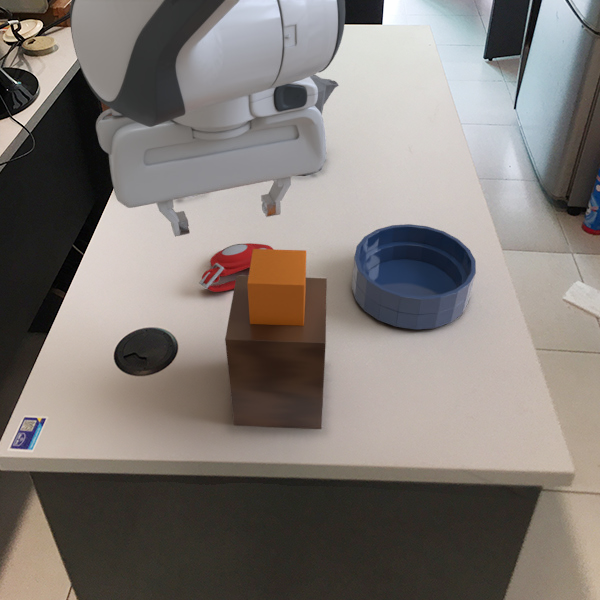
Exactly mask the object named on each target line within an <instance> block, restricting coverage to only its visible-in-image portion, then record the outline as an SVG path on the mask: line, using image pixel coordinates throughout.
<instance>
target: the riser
mask: <svg viewBox="0 0 600 600" xmlns="http://www.w3.org/2000/svg"><path fill="white" fill-rule="evenodd" d="M248 276H249V275H241V274H240V275H239V274H236V278H235V280H236V282H235V288H234V289H233V292H232V293H233V294H232V299H231V303H230V304H231V305H230V310H229V317H228V322H227V327H226V333H225V336H224V337H225V338H224V341H225V342H224V343H225V353H226V361H227V372H228V382H229V391H230V401H231V412H232V419H233V420H232V421H233V426H243V427H245V426H246V427H266V428H267V427H269V428H291V429H293V428H294V429H295V428H296V429H320V430H321V429H322V426H323V424H322V423H323V407H324V406H323V405H324V404H323V403H324V387H325V386H324V385H325V384H324V383H325V366H326V365H325V363H326V348H327V347H326V346H327V343H326V342H327V292H328V291H327V283H328V278H327V277H306V294H305V313H304V326H293V325H264V324H250V317H249V301H248V285H247V283H248Z"/></svg>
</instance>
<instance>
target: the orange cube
mask: <svg viewBox="0 0 600 600" xmlns="http://www.w3.org/2000/svg"><path fill="white" fill-rule="evenodd" d="M247 276H248V283H247V285H248V301H249V317H250V324H264V325H293V326H304V313H305V294H306V278H307V250H306V249H305V250H304V249H302V250H301V249H274V248H273V249H253V251H252V258H251V264H250V267H249V270H248V275H247Z"/></svg>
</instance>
